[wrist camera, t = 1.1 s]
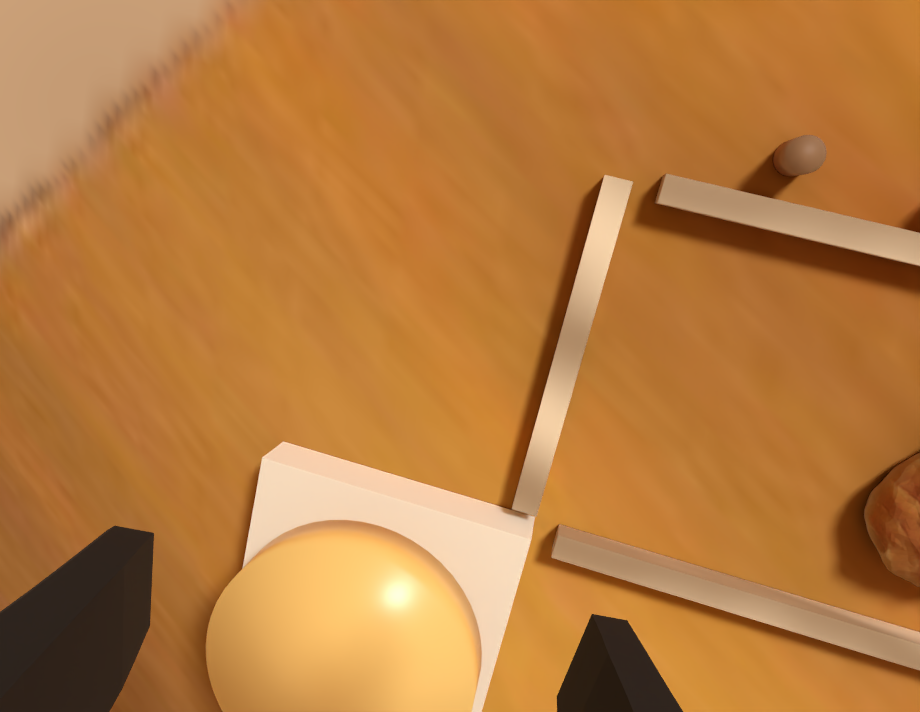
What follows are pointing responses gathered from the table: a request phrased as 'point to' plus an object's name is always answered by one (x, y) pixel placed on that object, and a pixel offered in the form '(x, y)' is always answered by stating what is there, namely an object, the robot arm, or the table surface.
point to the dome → (343, 627)
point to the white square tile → (402, 528)
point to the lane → (577, 323)
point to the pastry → (897, 520)
